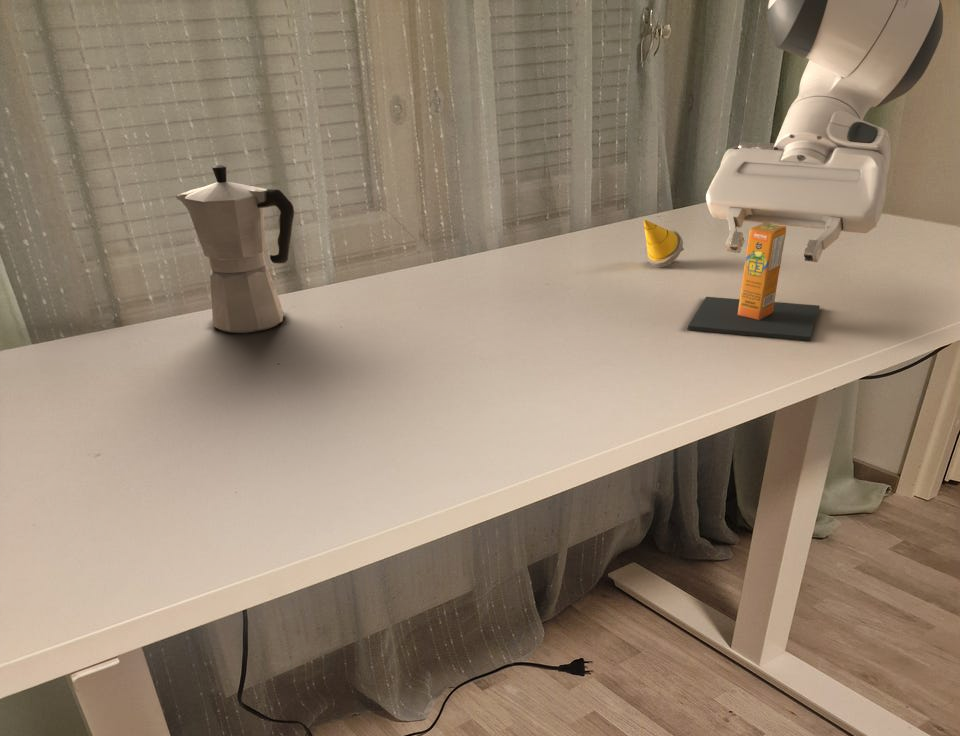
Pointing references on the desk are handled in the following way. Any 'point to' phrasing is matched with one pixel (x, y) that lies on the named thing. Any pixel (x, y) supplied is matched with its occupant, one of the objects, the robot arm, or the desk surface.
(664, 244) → the yellow cone on disc
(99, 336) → the desk surface
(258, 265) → the coffeepot
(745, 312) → the supplement box
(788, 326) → the mat
